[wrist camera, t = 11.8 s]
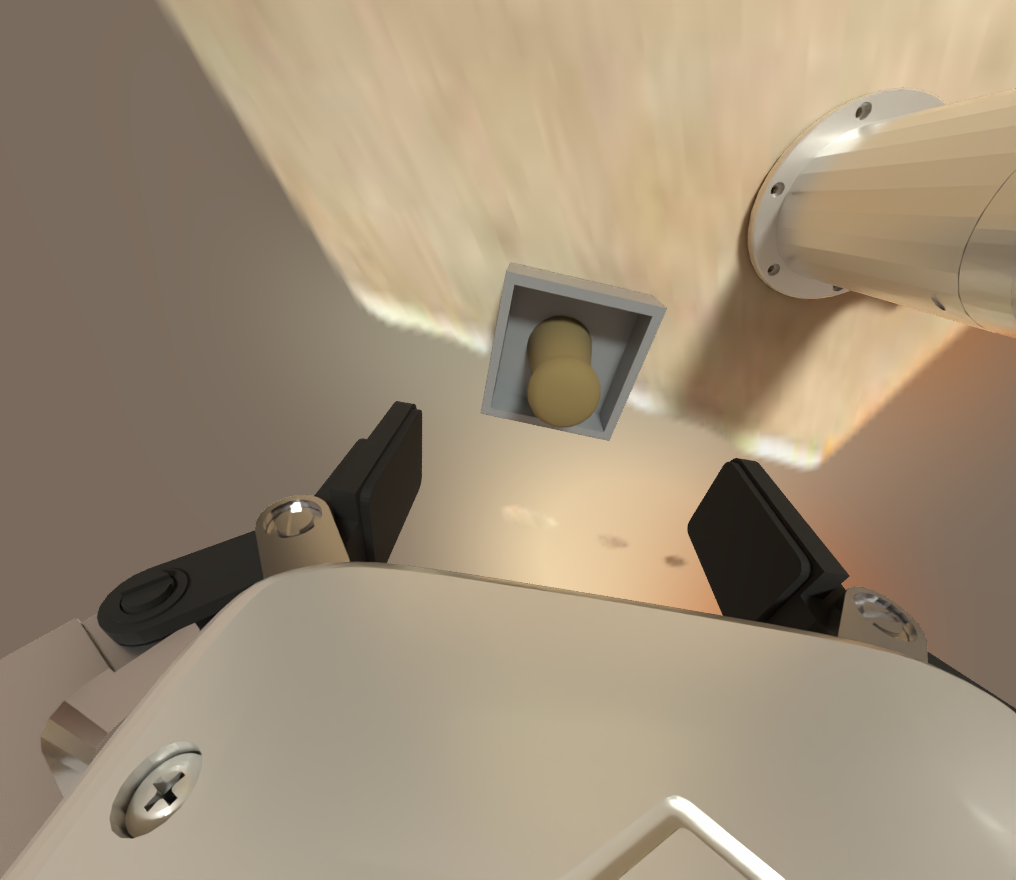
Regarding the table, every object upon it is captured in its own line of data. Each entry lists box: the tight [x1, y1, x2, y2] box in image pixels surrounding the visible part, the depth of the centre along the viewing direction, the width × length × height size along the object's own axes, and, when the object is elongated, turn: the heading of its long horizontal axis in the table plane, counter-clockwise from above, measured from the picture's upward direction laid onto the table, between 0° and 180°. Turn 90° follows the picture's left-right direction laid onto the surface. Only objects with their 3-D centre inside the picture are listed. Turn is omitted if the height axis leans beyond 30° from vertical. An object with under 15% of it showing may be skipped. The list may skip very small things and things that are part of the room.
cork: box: [527, 315, 601, 428], centre depth 29 cm, size 6×6×11 cm
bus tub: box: [481, 263, 667, 441], centre depth 33 cm, size 13×13×4 cm
